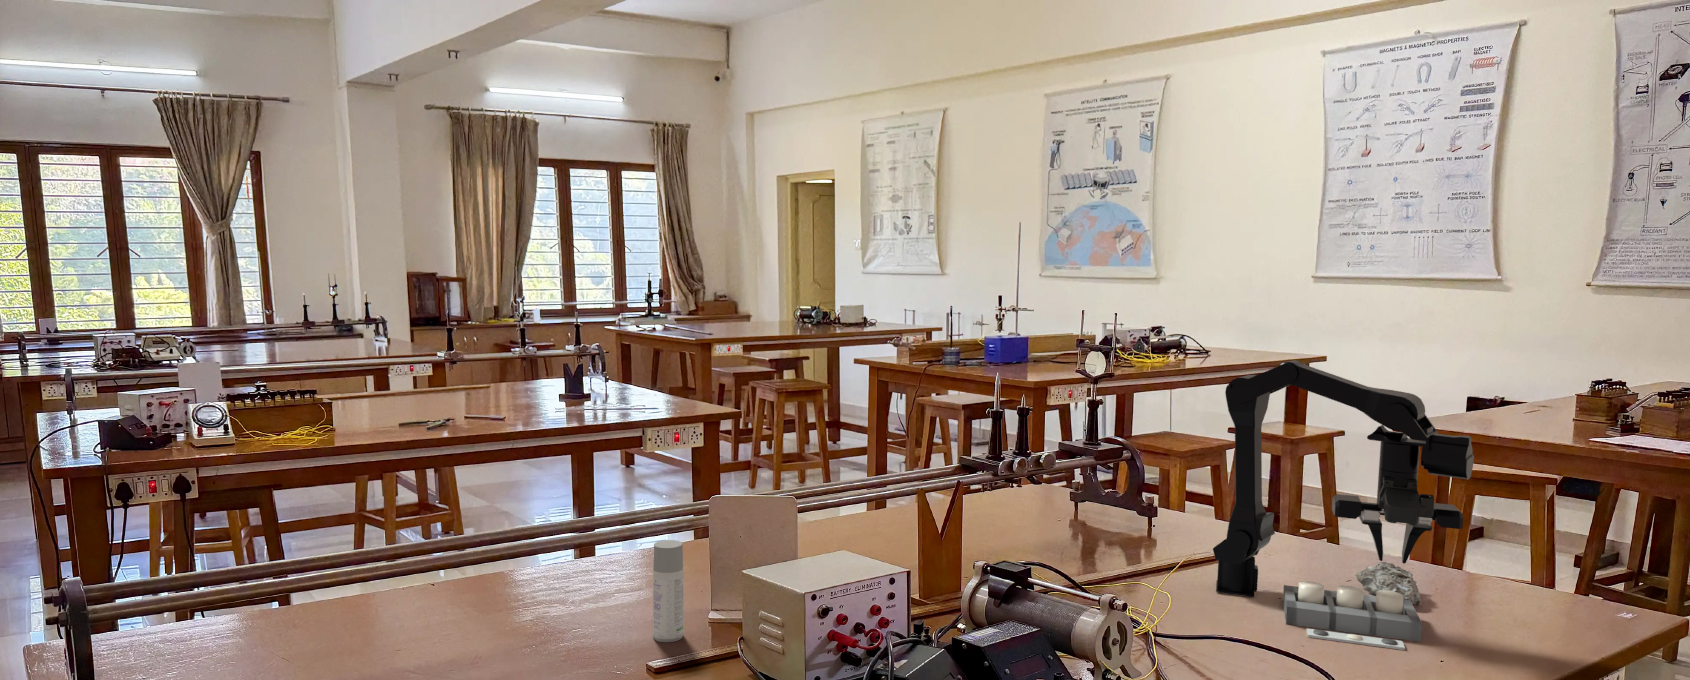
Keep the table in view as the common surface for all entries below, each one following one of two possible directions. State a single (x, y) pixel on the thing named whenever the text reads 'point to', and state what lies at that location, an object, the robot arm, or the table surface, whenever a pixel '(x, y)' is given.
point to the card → (1355, 639)
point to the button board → (1352, 616)
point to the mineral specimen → (1389, 581)
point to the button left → (1311, 592)
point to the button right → (1389, 602)
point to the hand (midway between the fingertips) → (1392, 561)
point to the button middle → (1349, 597)
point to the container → (668, 591)
